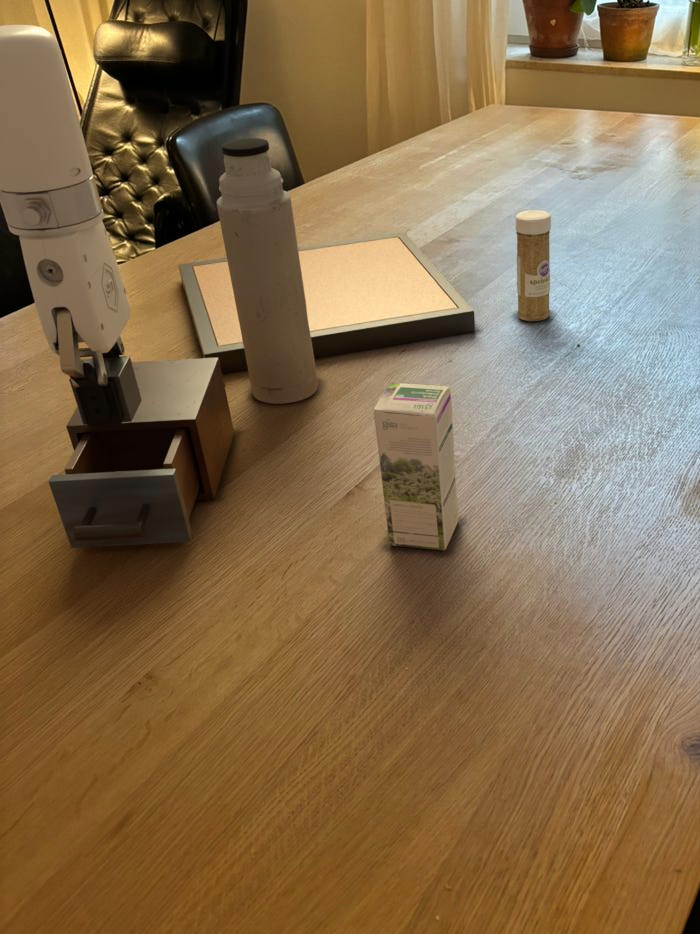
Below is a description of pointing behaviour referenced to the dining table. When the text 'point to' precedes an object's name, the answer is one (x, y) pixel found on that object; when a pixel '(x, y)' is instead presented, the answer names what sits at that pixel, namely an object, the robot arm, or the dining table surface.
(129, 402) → the block
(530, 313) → the sprinkles bottle
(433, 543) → the syrup box
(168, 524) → the drawer
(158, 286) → the dining table surface
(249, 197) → the thermos bottle
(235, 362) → the cork board
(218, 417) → the cabinet
